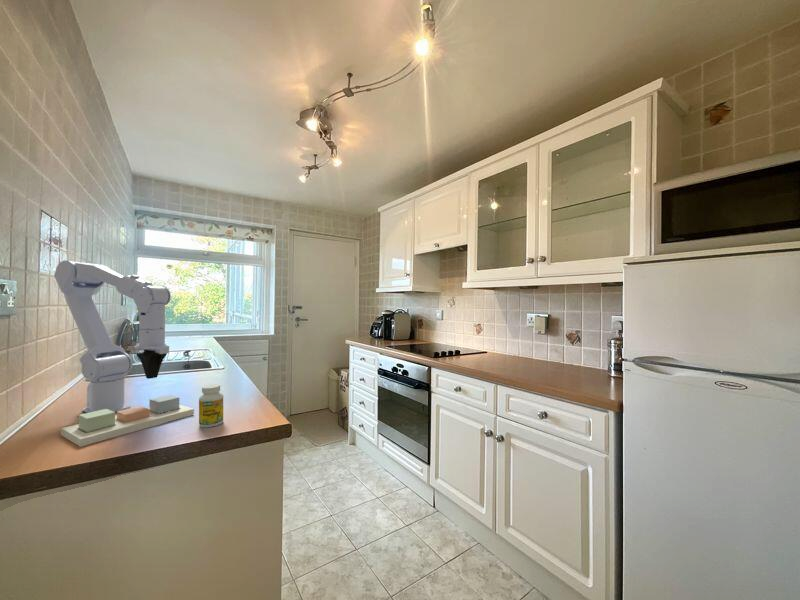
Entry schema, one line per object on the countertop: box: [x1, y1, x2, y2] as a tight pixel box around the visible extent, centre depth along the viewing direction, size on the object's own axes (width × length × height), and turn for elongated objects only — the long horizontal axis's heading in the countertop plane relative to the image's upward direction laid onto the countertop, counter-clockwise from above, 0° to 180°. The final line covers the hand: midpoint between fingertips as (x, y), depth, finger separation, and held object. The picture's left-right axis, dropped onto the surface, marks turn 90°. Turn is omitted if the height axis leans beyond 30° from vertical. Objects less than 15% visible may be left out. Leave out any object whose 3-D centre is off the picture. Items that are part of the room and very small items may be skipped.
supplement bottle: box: [198, 384, 224, 428], centre depth 82 cm, size 5×5×10 cm
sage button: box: [78, 409, 116, 433], centre depth 76 cm, size 5×5×3 cm
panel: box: [60, 403, 195, 448], centre depth 82 cm, size 12×23×2 cm, turn 150°
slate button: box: [148, 394, 180, 415], centre depth 88 cm, size 5×5×3 cm
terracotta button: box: [116, 405, 150, 423], centre depth 82 cm, size 5×5×3 cm
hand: (151, 377), depth 90 cm, fingers closed
